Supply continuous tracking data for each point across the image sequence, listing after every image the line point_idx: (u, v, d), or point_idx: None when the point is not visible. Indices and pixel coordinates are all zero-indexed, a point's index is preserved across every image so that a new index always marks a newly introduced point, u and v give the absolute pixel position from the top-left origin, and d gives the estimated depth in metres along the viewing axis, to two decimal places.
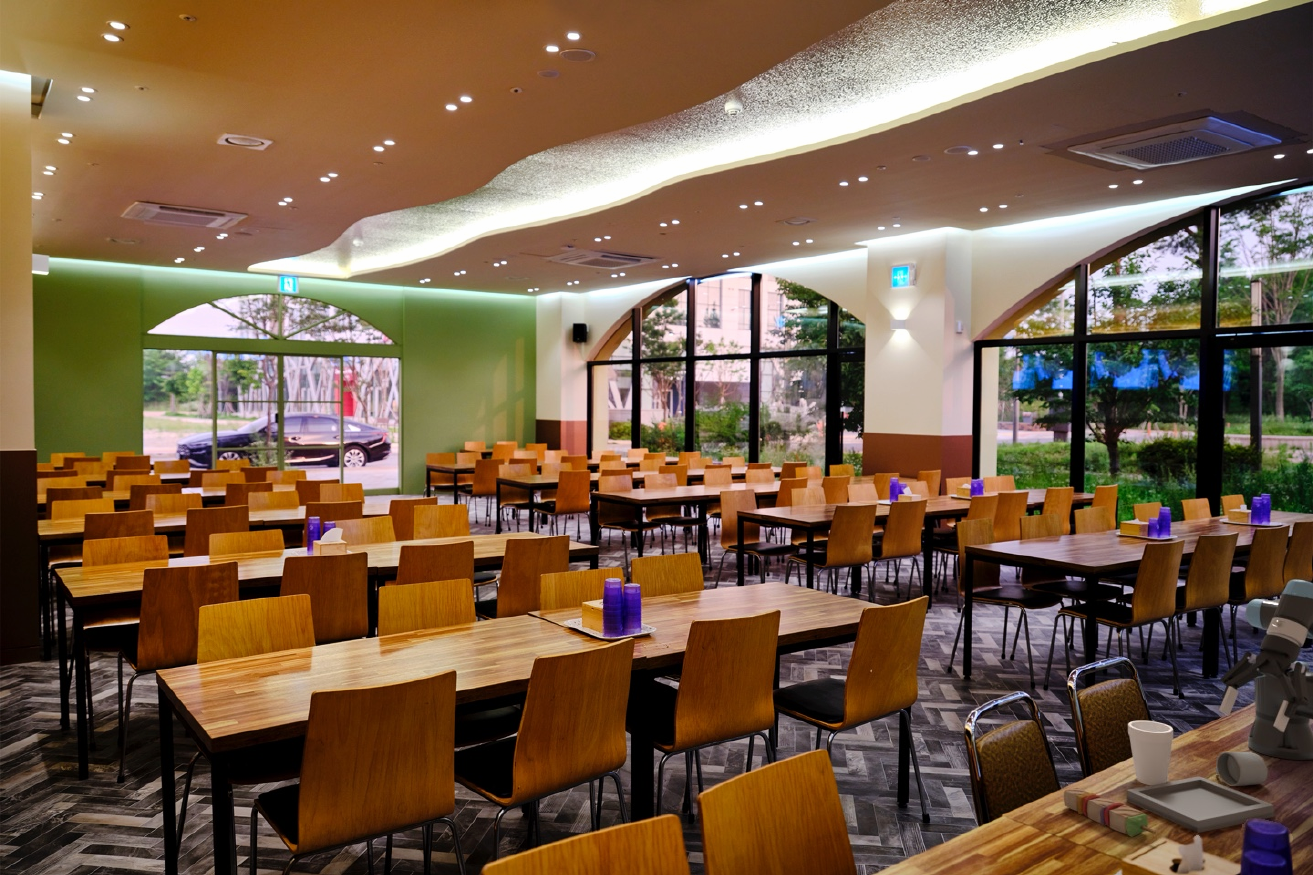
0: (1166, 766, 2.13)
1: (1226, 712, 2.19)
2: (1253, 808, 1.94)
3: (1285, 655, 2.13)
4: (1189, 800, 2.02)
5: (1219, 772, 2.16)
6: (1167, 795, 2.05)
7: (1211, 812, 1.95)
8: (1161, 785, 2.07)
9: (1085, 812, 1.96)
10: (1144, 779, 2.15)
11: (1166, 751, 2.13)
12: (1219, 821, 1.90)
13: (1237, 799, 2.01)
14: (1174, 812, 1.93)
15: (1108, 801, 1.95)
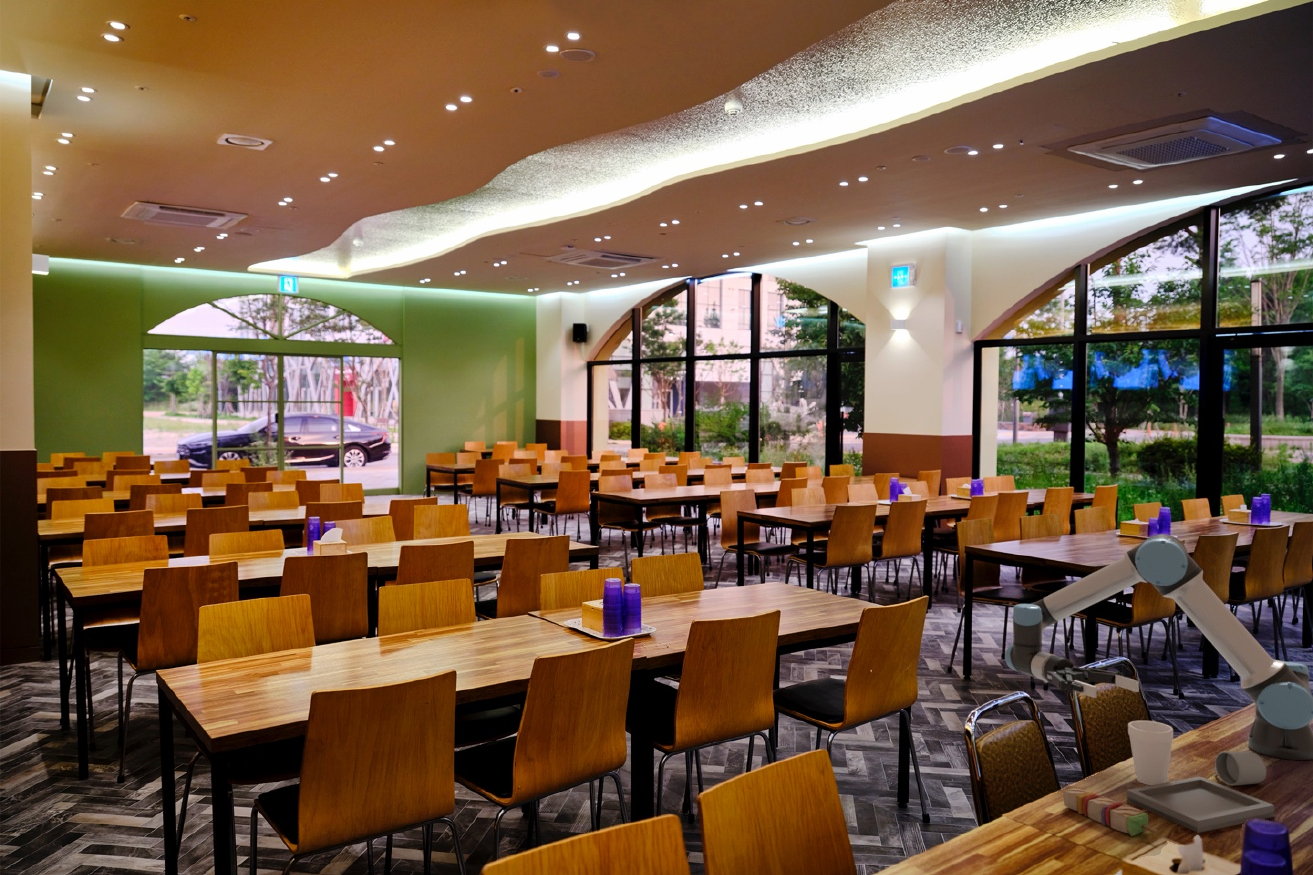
0: (1166, 766, 2.13)
1: (1135, 685, 2.28)
2: (1253, 808, 1.94)
3: None
4: (1189, 800, 2.02)
5: (1218, 771, 2.16)
6: (1167, 795, 2.05)
7: (1211, 812, 1.95)
8: (1161, 785, 2.07)
9: (1085, 812, 1.96)
10: (1144, 779, 2.15)
11: (1166, 751, 2.13)
12: (1219, 821, 1.90)
13: (1237, 799, 2.01)
14: (1174, 812, 1.93)
15: (1108, 801, 1.95)
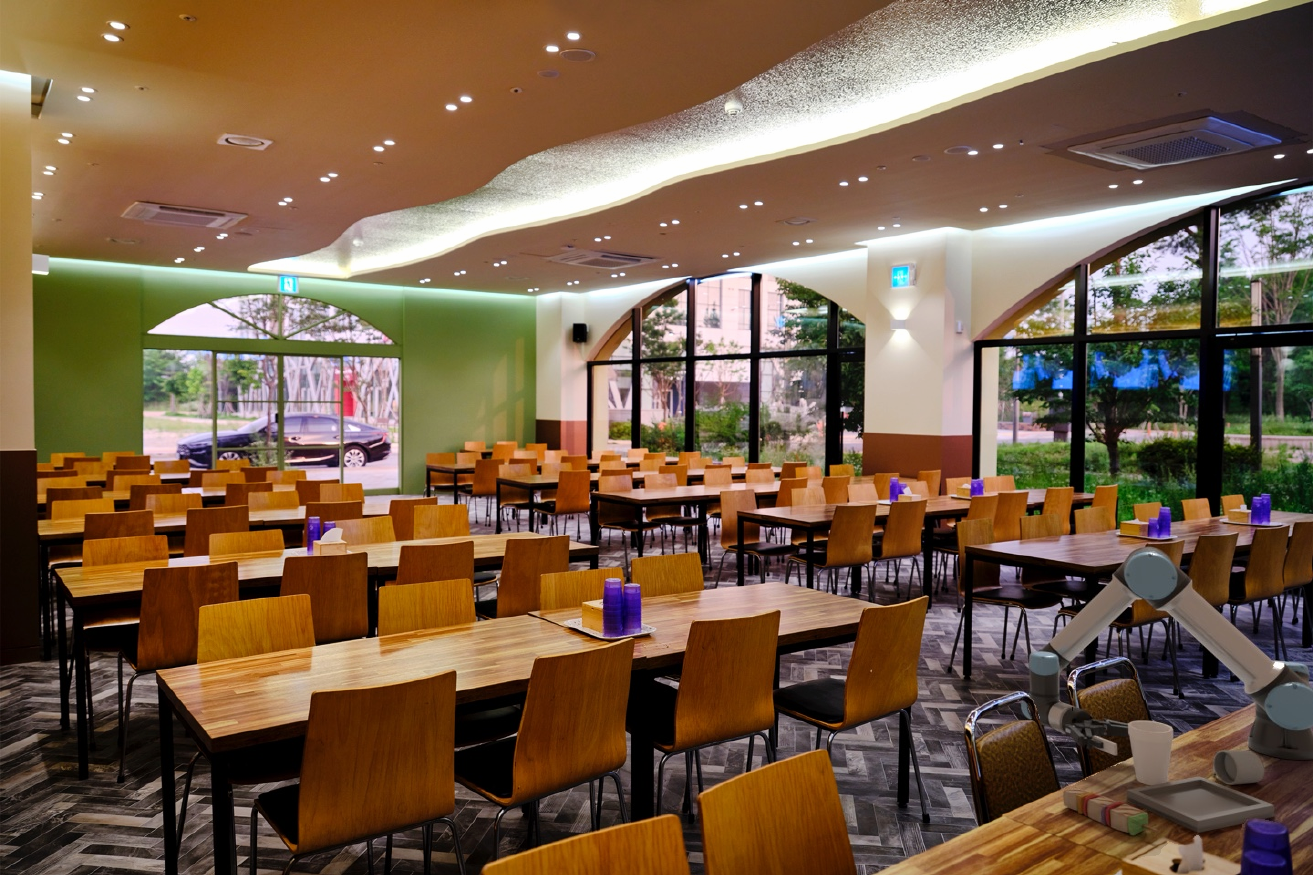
0: (1166, 766, 2.13)
1: None
2: (1253, 808, 1.94)
3: None
4: (1189, 800, 2.02)
5: (1216, 771, 2.17)
6: (1167, 795, 2.05)
7: (1211, 812, 1.95)
8: (1161, 785, 2.07)
9: (1085, 812, 1.96)
10: (1144, 779, 2.15)
11: (1166, 751, 2.13)
12: (1219, 821, 1.90)
13: (1237, 799, 2.01)
14: (1174, 812, 1.93)
15: (1108, 800, 1.95)
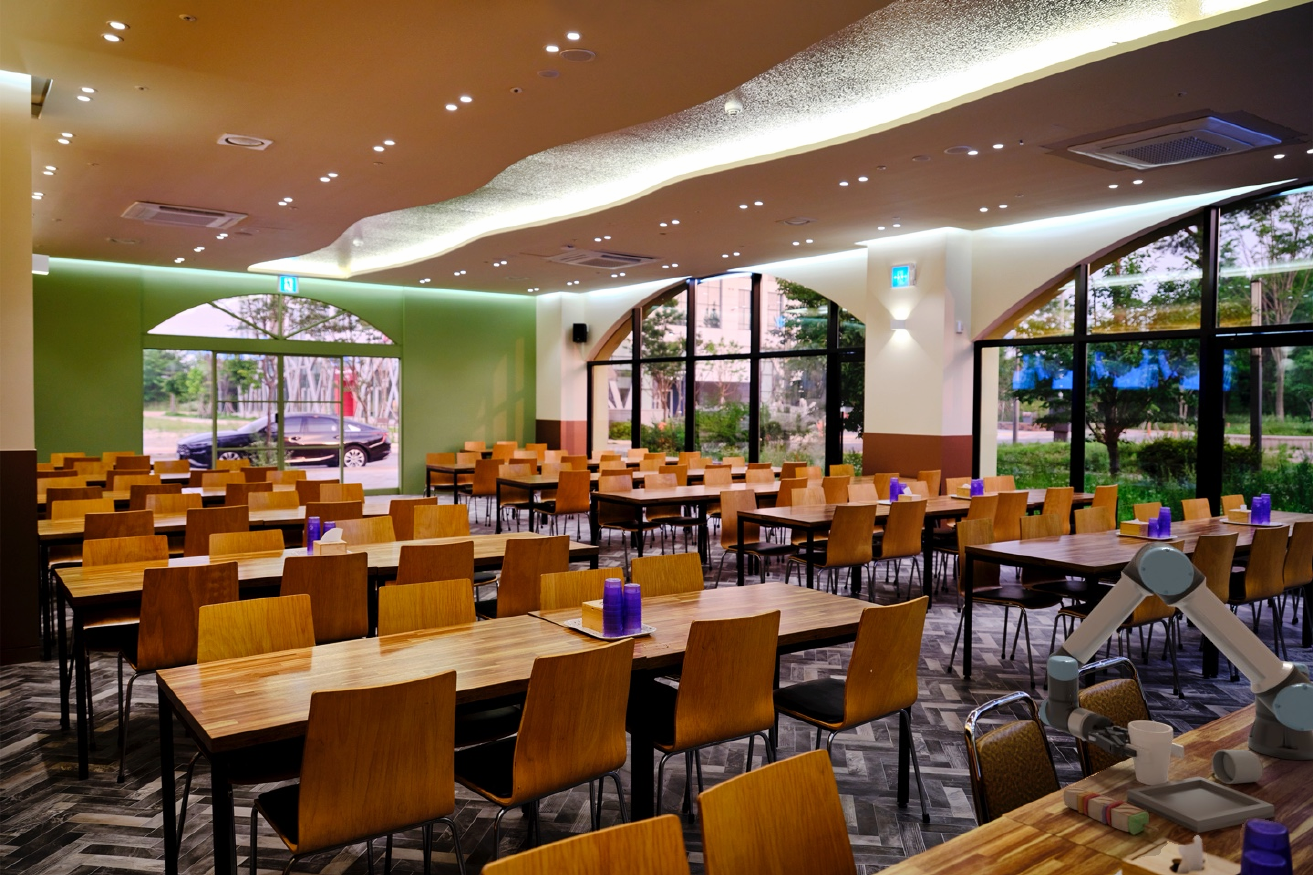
0: (1166, 766, 2.13)
1: (1180, 751, 2.14)
2: (1253, 808, 1.94)
3: None
4: (1189, 800, 2.02)
5: (1215, 770, 2.17)
6: (1167, 795, 2.05)
7: (1211, 812, 1.95)
8: (1161, 785, 2.07)
9: (1086, 811, 1.96)
10: (1144, 779, 2.15)
11: (1166, 751, 2.13)
12: (1219, 821, 1.90)
13: (1237, 799, 2.01)
14: (1174, 812, 1.93)
15: (1108, 800, 1.95)
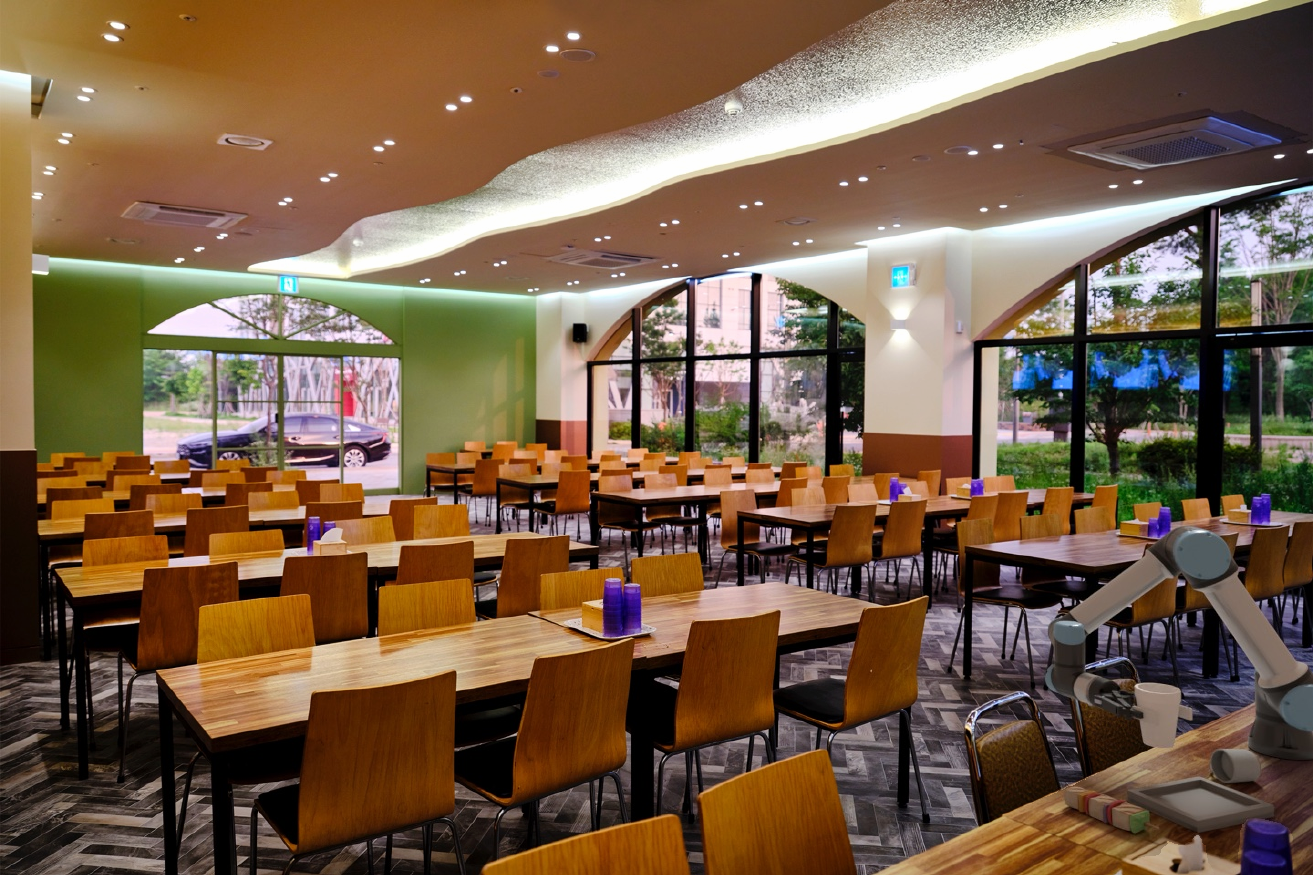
0: (1173, 728, 2.09)
1: (1188, 713, 2.10)
2: (1253, 808, 1.94)
3: None
4: (1189, 800, 2.02)
5: (1213, 769, 2.18)
6: (1167, 795, 2.05)
7: (1211, 812, 1.95)
8: (1161, 785, 2.07)
9: (1087, 810, 1.97)
10: (1151, 741, 2.10)
11: (1173, 713, 2.08)
12: (1219, 821, 1.90)
13: (1237, 799, 2.01)
14: (1174, 812, 1.93)
15: (1109, 799, 1.96)
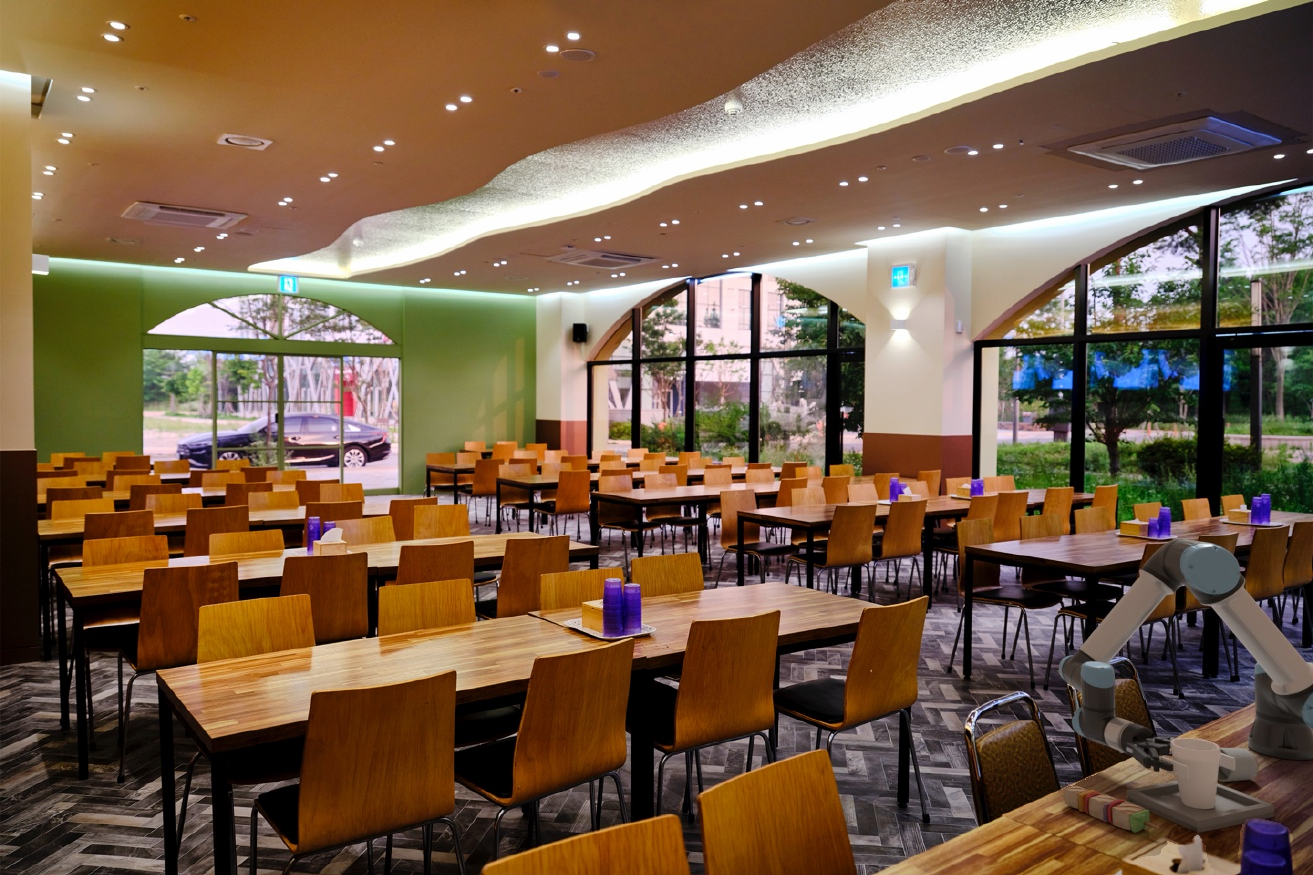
0: (1214, 787, 1.97)
1: (1231, 762, 1.99)
2: (1253, 808, 1.94)
3: None
4: None
5: None
6: (1167, 795, 2.05)
7: (1211, 812, 1.95)
8: (1161, 785, 2.07)
9: (1087, 809, 1.97)
10: (1190, 802, 1.98)
11: (1214, 771, 1.96)
12: (1219, 821, 1.90)
13: (1237, 799, 2.01)
14: (1174, 812, 1.93)
15: (1109, 798, 1.96)
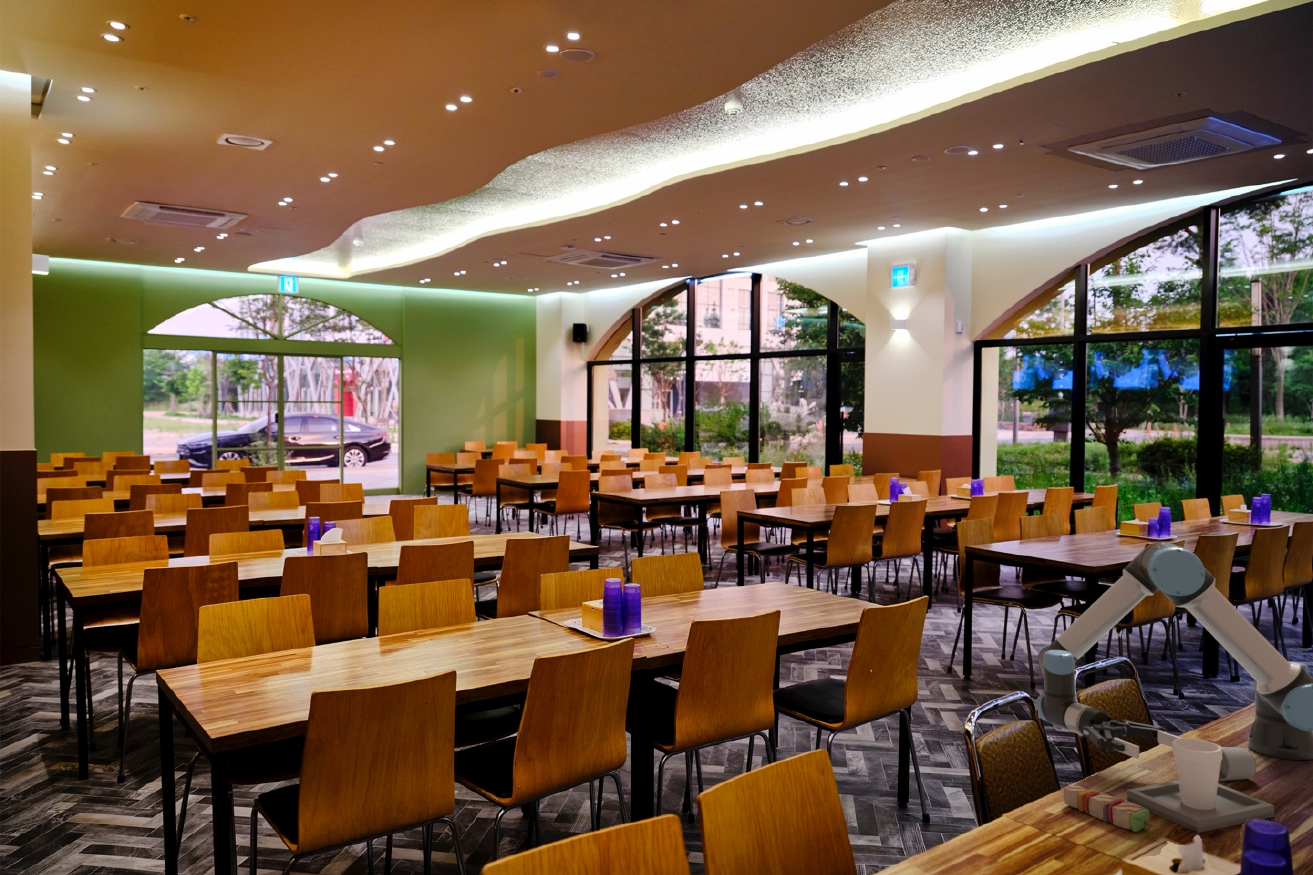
0: (1215, 788, 1.97)
1: None
2: (1253, 808, 1.94)
3: None
4: None
5: None
6: (1167, 795, 2.05)
7: (1211, 812, 1.95)
8: (1161, 785, 2.07)
9: (1087, 809, 1.97)
10: (1190, 802, 1.98)
11: (1215, 772, 1.96)
12: (1219, 821, 1.90)
13: (1237, 799, 2.01)
14: (1174, 812, 1.93)
15: (1109, 797, 1.96)
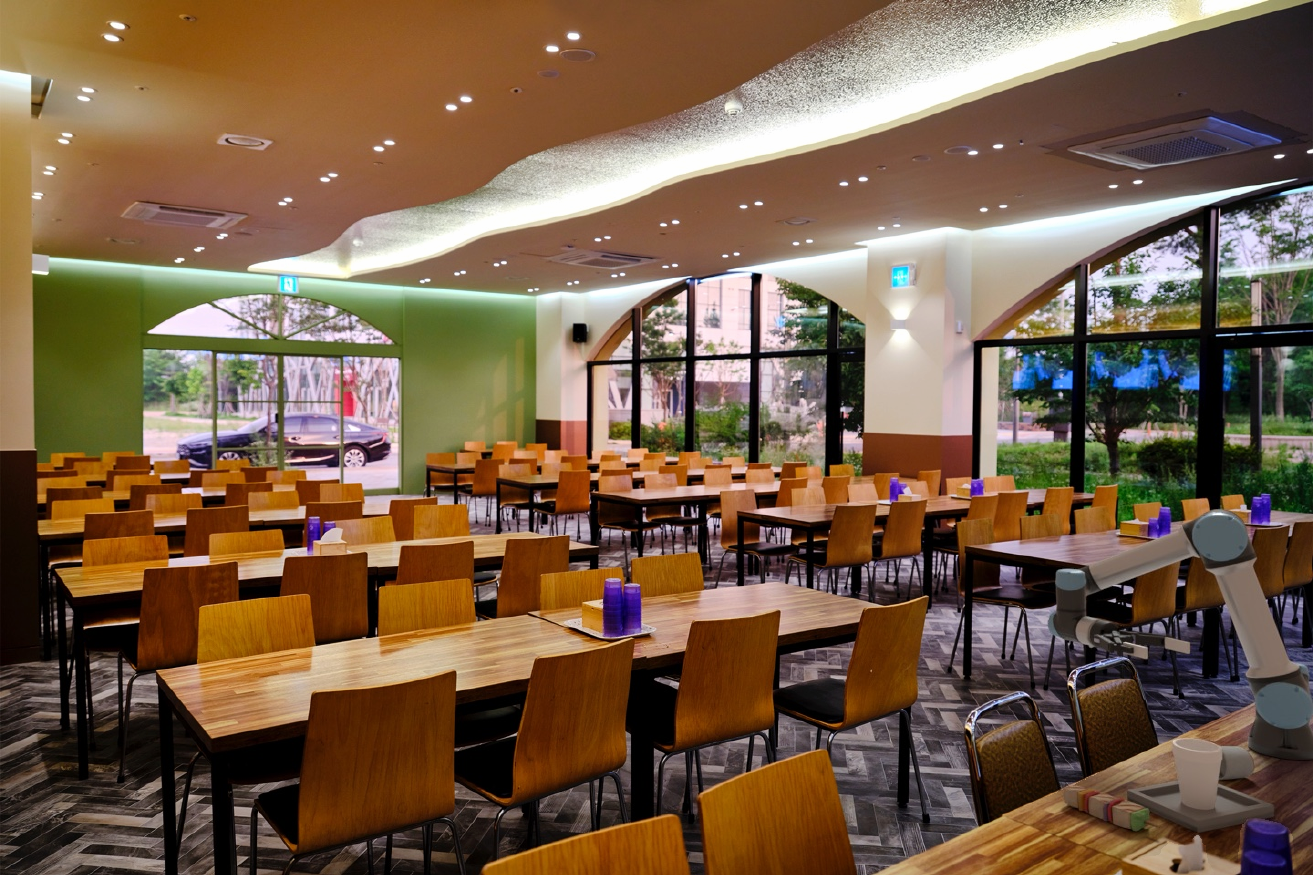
0: (1215, 788, 1.97)
1: (1186, 647, 2.23)
2: (1253, 808, 1.94)
3: None
4: None
5: None
6: (1167, 795, 2.05)
7: (1211, 812, 1.95)
8: (1161, 785, 2.07)
9: (1087, 809, 1.98)
10: (1190, 802, 1.98)
11: (1215, 772, 1.96)
12: (1219, 821, 1.90)
13: (1237, 799, 2.01)
14: (1174, 812, 1.93)
15: (1109, 797, 1.97)
